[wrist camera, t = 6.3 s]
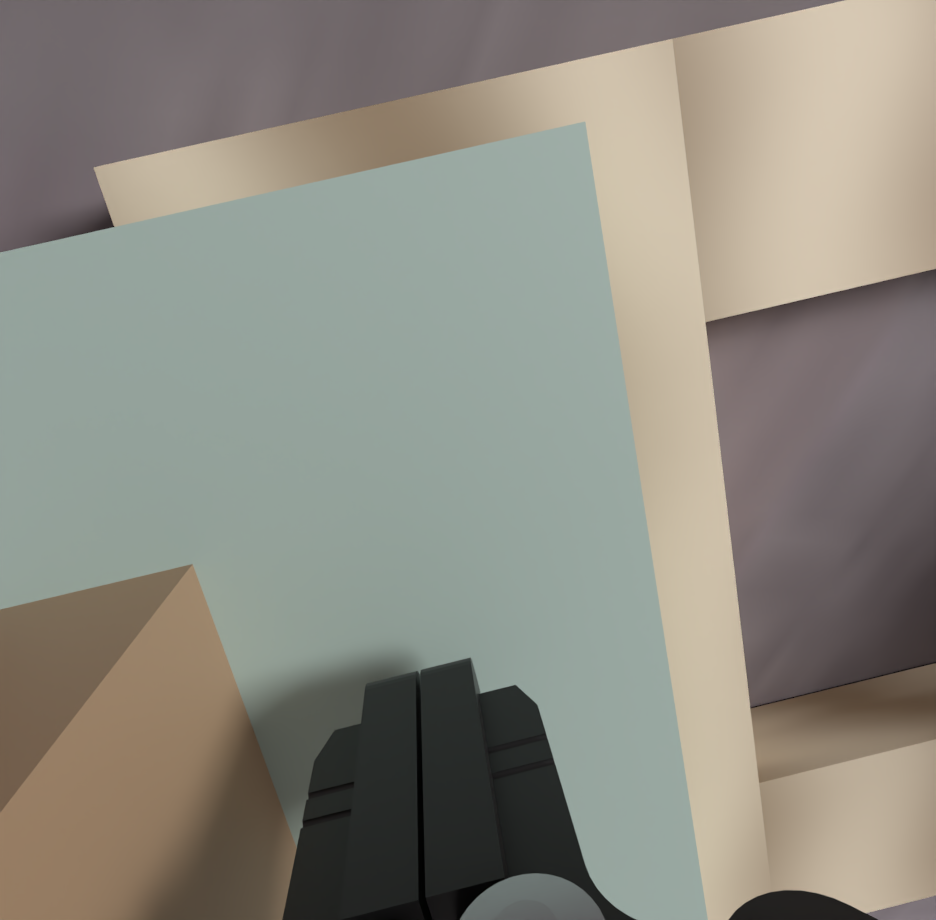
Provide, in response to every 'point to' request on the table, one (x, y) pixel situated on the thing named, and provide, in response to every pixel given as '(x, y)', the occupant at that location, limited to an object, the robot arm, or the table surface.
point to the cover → (318, 526)
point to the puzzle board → (705, 366)
